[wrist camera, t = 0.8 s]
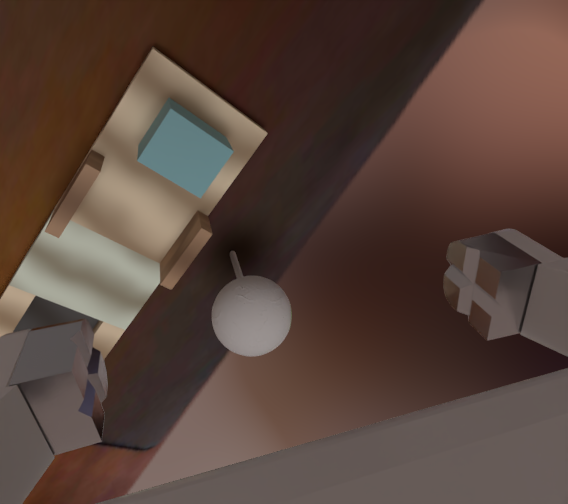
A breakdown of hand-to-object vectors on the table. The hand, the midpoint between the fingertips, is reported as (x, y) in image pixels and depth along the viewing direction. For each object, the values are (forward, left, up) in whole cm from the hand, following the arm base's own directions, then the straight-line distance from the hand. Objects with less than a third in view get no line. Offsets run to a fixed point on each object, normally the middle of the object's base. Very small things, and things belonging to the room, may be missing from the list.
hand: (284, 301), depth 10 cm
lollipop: (+13, +14, -35) cm, 40 cm away
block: (+5, +3, -33) cm, 33 cm away
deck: (+17, +3, -35) cm, 39 cm away
